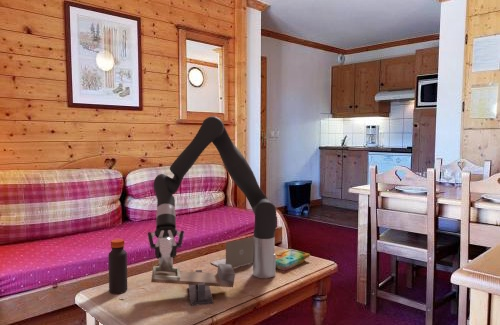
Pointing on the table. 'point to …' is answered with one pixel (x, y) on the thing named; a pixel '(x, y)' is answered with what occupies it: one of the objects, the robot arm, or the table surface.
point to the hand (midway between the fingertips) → (165, 257)
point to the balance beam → (196, 276)
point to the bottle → (117, 267)
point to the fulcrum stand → (200, 294)
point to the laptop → (238, 253)
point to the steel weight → (165, 253)
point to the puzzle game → (290, 259)
